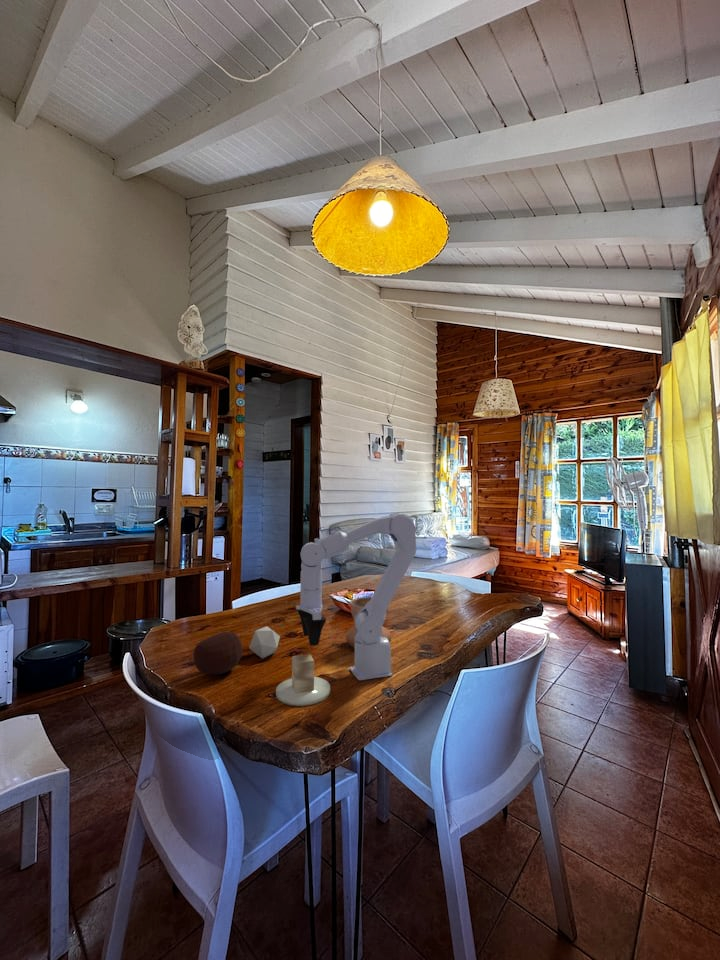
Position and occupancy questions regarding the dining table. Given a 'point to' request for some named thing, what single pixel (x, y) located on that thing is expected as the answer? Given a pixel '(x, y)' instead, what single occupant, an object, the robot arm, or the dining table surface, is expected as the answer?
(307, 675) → the block
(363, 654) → the robot arm
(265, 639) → the die
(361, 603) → the ceramic jug
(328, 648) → the dining table surface
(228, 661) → the potato
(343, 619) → the dining table surface
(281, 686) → the plate
